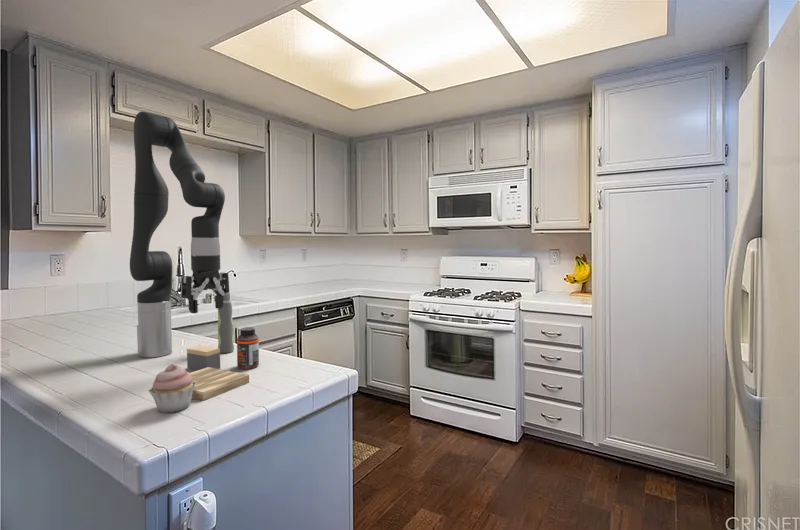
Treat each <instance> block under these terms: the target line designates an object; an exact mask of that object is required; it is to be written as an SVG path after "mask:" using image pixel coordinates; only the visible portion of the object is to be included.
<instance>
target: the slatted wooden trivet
mask: <svg viewBox="0 0 800 530" xmlns="http://www.w3.org/2000/svg"><path fill="white" fill-rule="evenodd" d="M189 373H190V375H191V377H192V381H193V382H197V383H196V385H195V387H194V390H193V393H192V397H191V399H194V400H199V401H203V402H204V401H206V400H208V399H211V398H214V397H216V396H219V395H221V394H224V393H226V392H229V391H231V390H233V389H236V388H239V387H241V386H243V385H246V384H249V383H250V374H246V373H241V372H237V371H236V372H235V371H231V370H225V369H221V368H220V369H216V368H210V367H207V368H204V369H201V370H198V371H195V370H194V371H192V372H189Z"/></svg>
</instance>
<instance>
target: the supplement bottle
mask: <svg viewBox="0 0 800 530" xmlns="http://www.w3.org/2000/svg"><path fill="white" fill-rule="evenodd" d="M239 331H240V334H239V336H238V337H236V338H237V339H236V352H237V354H236V356H237V358H236V360H237V361H236V362H237V363H236V365H237V368H238V369H241V370H249V369H250V370H251V369H254V368H255V369H256V368H257V367H258V366H259V364H260V361H259V360H260V359H259V358H260V357H259V355H260V354H259V353H260V351H259V348H260V347H259V346H260V345H259V344H260V343H259V341H260V340H259V335H257V334H256V328H255V327H252V326H251V327H250V326H247V327H242V328H240V329H239Z"/></svg>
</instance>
